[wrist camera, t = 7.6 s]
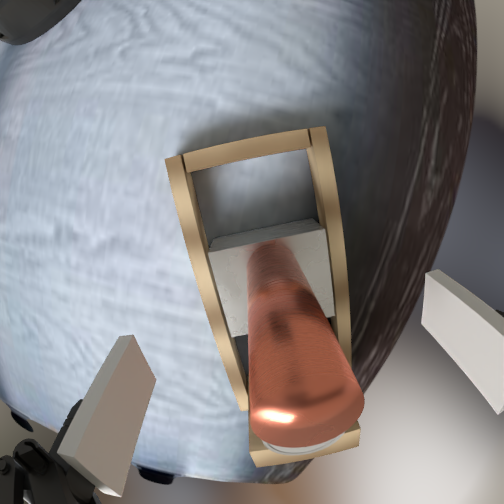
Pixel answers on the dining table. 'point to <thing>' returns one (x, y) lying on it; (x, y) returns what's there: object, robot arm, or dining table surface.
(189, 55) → the dining table surface
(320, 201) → the press frame
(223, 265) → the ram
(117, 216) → the dining table surface
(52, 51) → the dining table surface
